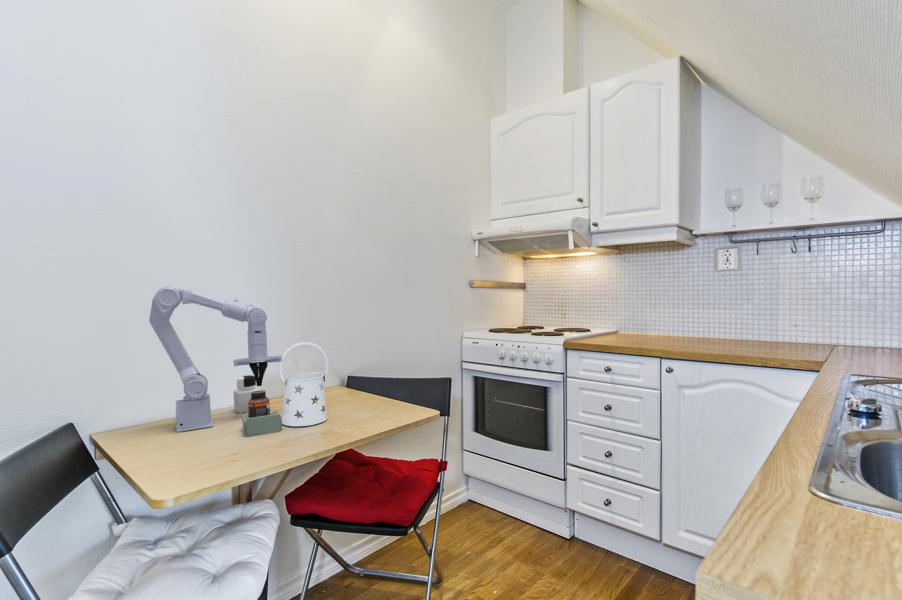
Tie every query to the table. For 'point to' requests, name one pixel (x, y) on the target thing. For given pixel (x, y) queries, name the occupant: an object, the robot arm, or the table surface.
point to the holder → (262, 424)
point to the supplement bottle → (258, 404)
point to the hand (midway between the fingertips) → (259, 385)
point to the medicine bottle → (244, 393)
